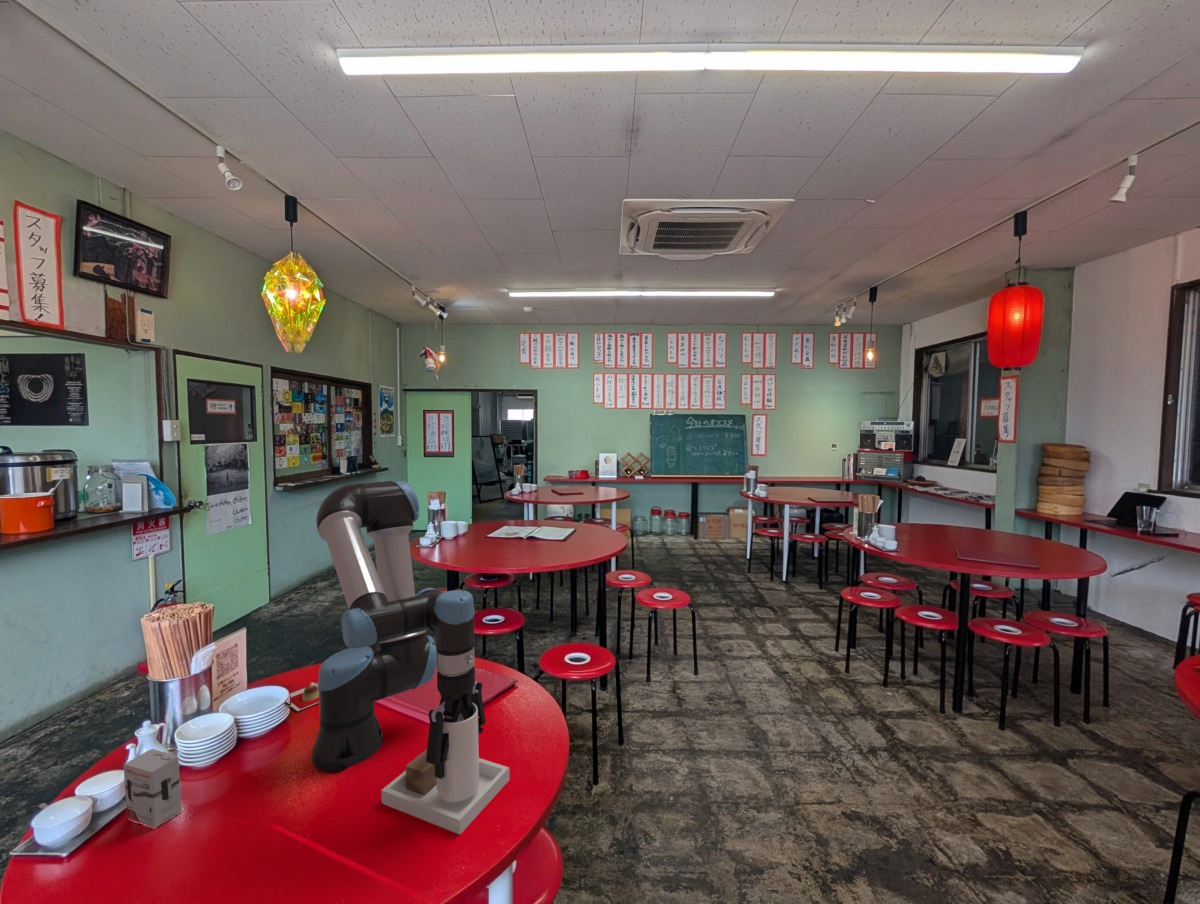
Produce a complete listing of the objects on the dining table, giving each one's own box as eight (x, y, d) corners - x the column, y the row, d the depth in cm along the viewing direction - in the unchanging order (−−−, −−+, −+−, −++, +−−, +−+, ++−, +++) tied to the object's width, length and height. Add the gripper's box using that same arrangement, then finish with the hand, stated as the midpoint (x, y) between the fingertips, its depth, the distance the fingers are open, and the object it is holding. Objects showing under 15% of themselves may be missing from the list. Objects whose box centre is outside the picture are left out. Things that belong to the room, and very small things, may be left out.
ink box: (124, 821, 98) (122, 762, 97) (154, 803, 102) (151, 747, 102) (154, 831, 95) (151, 771, 95) (182, 812, 100) (180, 755, 99)
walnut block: (406, 789, 104) (405, 765, 104) (426, 771, 110) (426, 749, 110) (424, 795, 102) (423, 772, 102) (444, 777, 108) (443, 755, 108)
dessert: (297, 715, 136) (297, 697, 135) (279, 701, 143) (278, 685, 143) (342, 696, 145) (341, 680, 145) (322, 684, 152) (322, 669, 152)
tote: (381, 807, 101) (381, 790, 100) (437, 759, 115) (437, 744, 115) (460, 838, 92) (459, 820, 92) (509, 783, 107) (509, 767, 107)
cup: (447, 772, 107) (446, 700, 106) (484, 775, 106) (483, 701, 106) (431, 800, 99) (429, 722, 98) (470, 803, 98) (469, 724, 97)
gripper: (433, 697, 91) (436, 818, 91) (501, 651, 110) (503, 751, 110) (403, 688, 94) (405, 805, 94) (474, 645, 113) (476, 743, 114)
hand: (458, 776), depth 102 cm, fingers closed on cup, 8 cm apart
